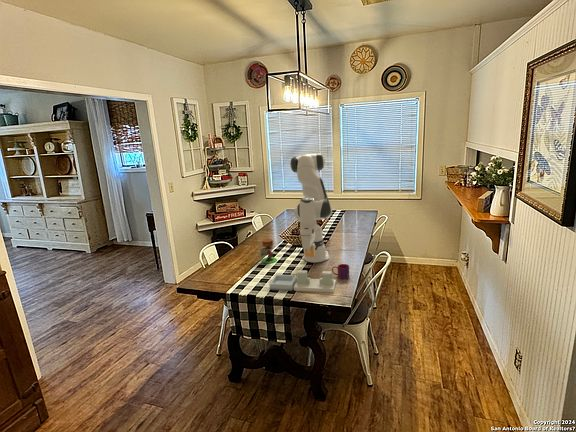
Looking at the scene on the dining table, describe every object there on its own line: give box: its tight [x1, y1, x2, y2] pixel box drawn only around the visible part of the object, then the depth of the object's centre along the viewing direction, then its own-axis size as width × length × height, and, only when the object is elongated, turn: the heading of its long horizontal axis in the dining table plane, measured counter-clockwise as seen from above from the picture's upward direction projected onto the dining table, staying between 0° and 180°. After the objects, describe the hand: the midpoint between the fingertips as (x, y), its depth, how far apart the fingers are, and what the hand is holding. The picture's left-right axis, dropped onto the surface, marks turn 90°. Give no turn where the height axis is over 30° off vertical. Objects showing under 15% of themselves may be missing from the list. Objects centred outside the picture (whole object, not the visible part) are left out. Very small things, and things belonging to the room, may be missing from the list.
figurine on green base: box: [259, 238, 278, 264], centre depth 225 cm, size 12×13×15 cm
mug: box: [331, 263, 350, 280], centre depth 192 cm, size 7×10×7 cm
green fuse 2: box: [321, 270, 333, 285], centre depth 179 cm, size 3×5×7 cm, turn 76°
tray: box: [269, 274, 298, 292], centre depth 187 cm, size 13×13×4 cm
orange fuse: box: [305, 243, 315, 257], centre depth 178 cm, size 3×5×7 cm, turn 76°
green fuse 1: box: [297, 269, 308, 284], centre depth 183 cm, size 3×5×7 cm, turn 76°
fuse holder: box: [293, 276, 337, 293], centre depth 182 cm, size 12×22×5 cm, turn 76°
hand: (309, 251), depth 178 cm, fingers closed on orange fuse, 3 cm apart
